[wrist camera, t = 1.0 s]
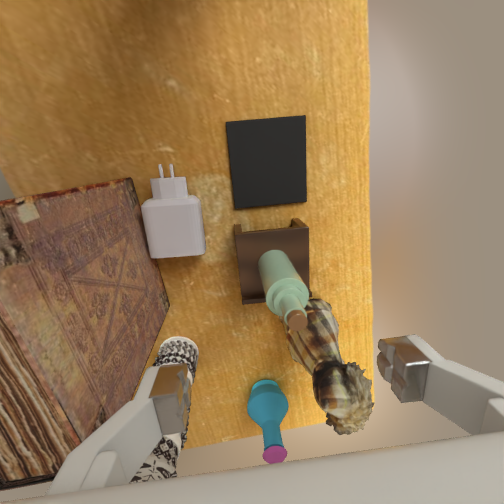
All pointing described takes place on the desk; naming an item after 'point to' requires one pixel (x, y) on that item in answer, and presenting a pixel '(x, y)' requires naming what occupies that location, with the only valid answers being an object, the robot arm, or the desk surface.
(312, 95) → the desk surface
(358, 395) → the plush toy
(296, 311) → the bottle
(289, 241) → the shelf
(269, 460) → the perfume bottle
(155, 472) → the decorative candle
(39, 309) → the book
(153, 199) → the charger
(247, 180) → the mat
